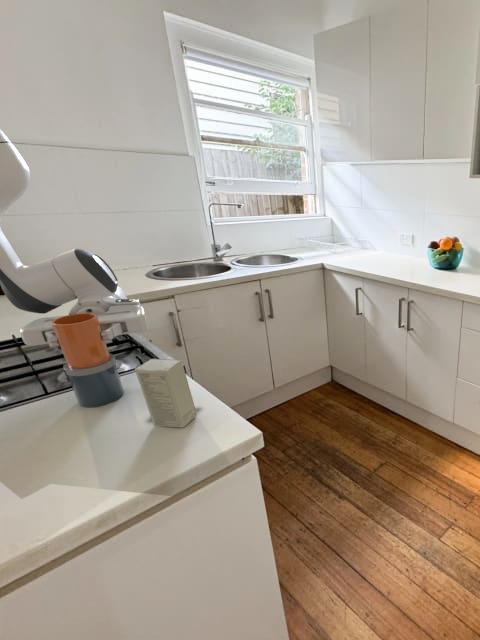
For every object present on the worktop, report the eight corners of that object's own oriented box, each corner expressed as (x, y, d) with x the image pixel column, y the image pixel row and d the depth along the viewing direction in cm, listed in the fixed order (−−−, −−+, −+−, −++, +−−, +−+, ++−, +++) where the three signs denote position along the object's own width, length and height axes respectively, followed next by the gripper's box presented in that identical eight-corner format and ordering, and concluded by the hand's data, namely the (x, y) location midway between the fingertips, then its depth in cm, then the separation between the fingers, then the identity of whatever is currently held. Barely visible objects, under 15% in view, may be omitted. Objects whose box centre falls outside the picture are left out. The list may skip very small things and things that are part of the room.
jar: (69, 401, 77) (54, 364, 74) (112, 384, 84) (101, 349, 81) (90, 412, 74) (76, 374, 71) (133, 393, 81) (122, 358, 77)
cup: (61, 363, 74) (44, 320, 71) (99, 351, 80) (85, 310, 76) (79, 371, 72) (62, 327, 68) (117, 358, 77) (103, 316, 74)
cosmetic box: (197, 415, 74) (184, 359, 69) (182, 429, 70) (167, 371, 65) (167, 412, 75) (152, 357, 70) (150, 426, 71) (133, 368, 66)
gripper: (29, 309, 79) (0, 332, 67) (146, 298, 87) (139, 317, 76) (40, 337, 81) (14, 364, 70) (153, 324, 90) (147, 345, 79)
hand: (80, 339), depth 73 cm, fingers closed on cup, 7 cm apart
